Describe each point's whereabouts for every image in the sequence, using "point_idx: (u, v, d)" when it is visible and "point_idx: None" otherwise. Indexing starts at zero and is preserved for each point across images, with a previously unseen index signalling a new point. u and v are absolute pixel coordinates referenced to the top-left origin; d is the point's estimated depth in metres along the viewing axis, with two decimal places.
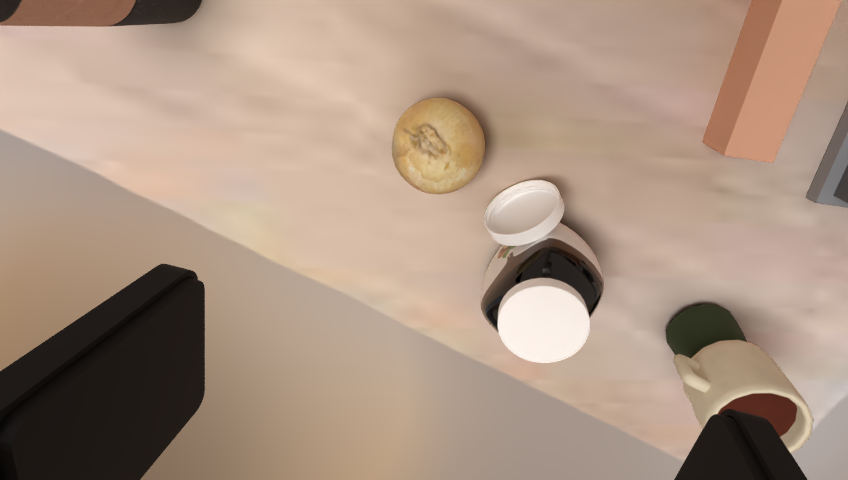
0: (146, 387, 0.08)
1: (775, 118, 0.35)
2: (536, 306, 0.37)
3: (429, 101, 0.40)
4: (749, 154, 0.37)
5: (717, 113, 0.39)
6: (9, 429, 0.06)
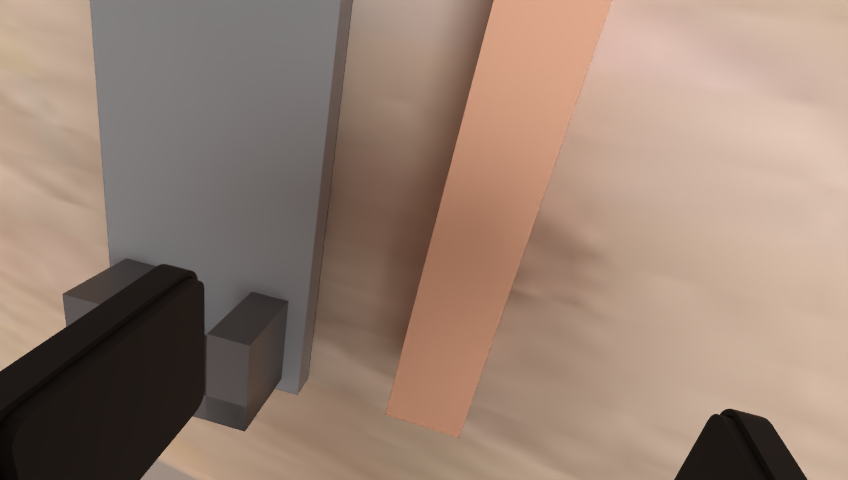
0: (146, 387, 0.08)
1: (519, 29, 0.16)
2: None
3: None
4: None
5: None
6: (9, 429, 0.06)
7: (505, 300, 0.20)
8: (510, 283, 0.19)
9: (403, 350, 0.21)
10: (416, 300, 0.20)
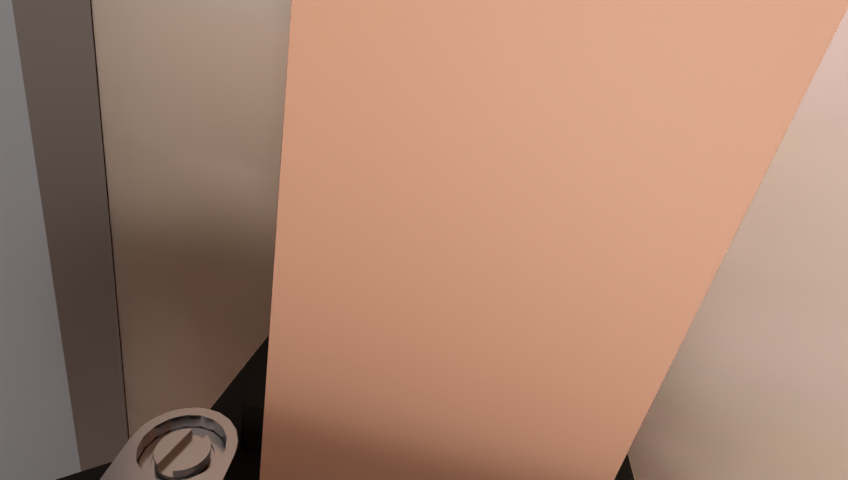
0: None
1: None
2: None
3: None
4: None
5: None
6: None
7: None
8: None
9: None
10: None
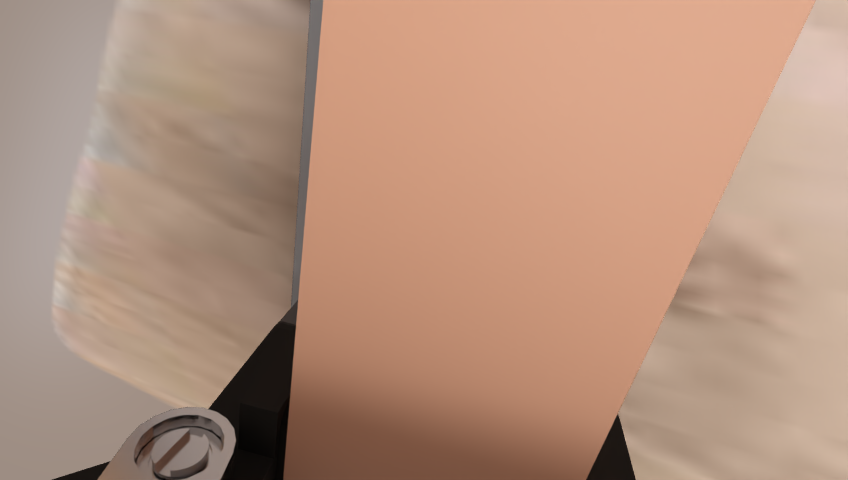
0: None
1: None
2: None
3: None
4: None
5: None
6: None
7: None
8: None
9: None
10: None
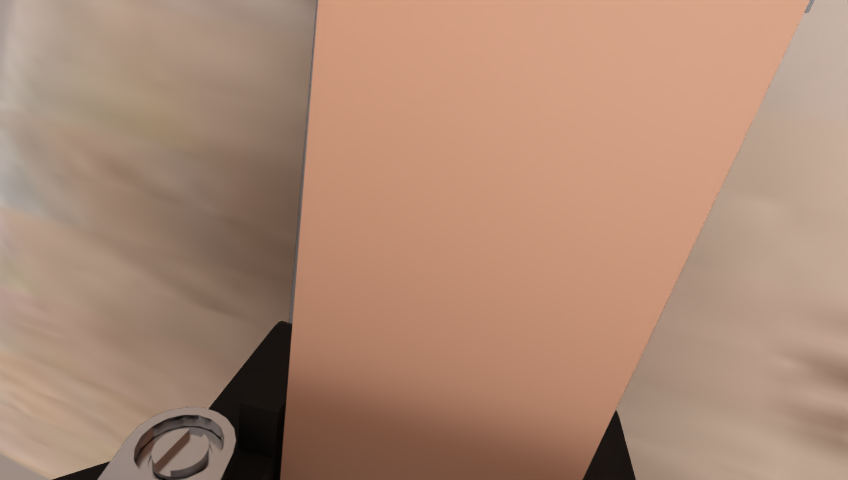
0: None
1: None
2: None
3: None
4: None
5: None
6: None
7: None
8: None
9: None
10: None
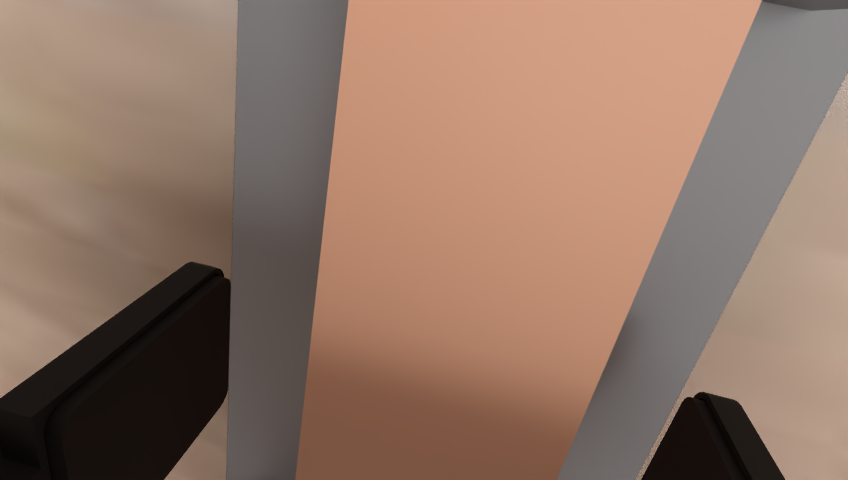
0: (177, 381, 0.08)
1: None
2: None
3: None
4: None
5: None
6: (58, 419, 0.06)
7: None
8: None
9: None
10: None
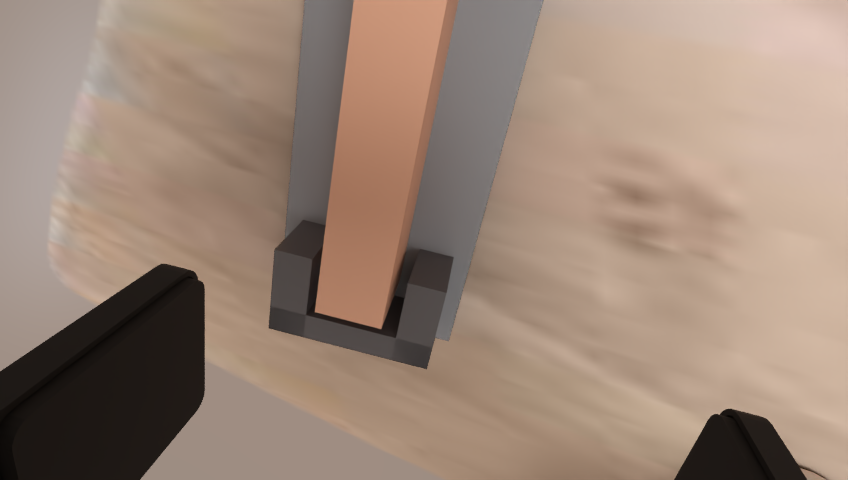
0: (146, 387, 0.08)
1: None
2: None
3: None
4: None
5: None
6: (9, 429, 0.06)
7: (406, 194, 0.22)
8: (409, 178, 0.22)
9: (324, 249, 0.24)
10: (330, 200, 0.23)
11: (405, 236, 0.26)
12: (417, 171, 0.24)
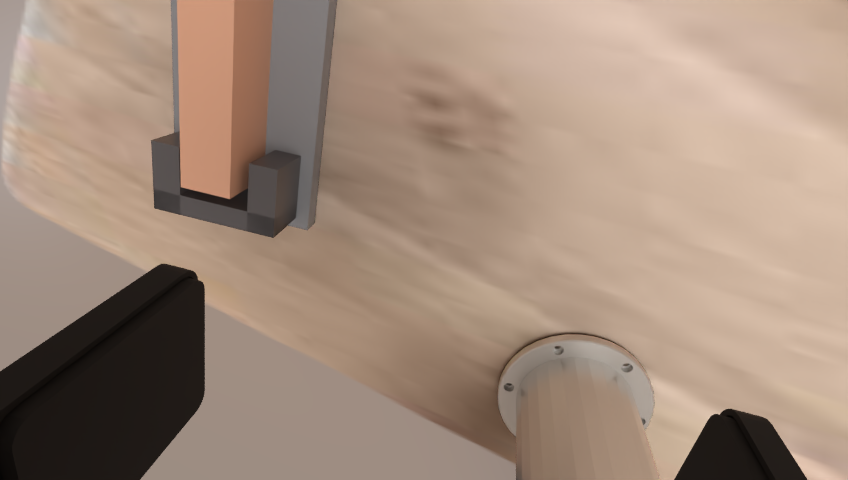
0: (146, 387, 0.08)
1: None
2: None
3: None
4: None
5: None
6: (9, 429, 0.06)
7: (231, 85, 0.30)
8: (231, 72, 0.30)
9: (180, 133, 0.32)
10: (179, 93, 0.31)
11: (252, 131, 0.34)
12: (249, 75, 0.32)
